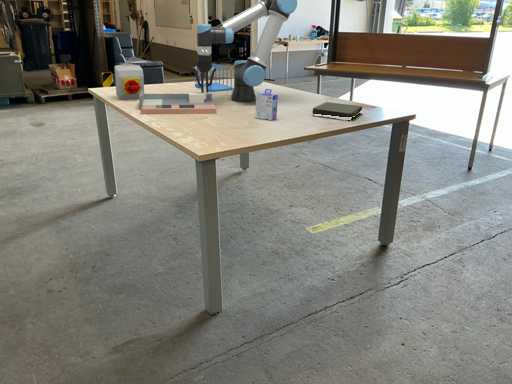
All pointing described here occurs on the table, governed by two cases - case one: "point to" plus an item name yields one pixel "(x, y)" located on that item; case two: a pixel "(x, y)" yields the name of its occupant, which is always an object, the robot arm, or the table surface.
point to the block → (196, 97)
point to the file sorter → (218, 86)
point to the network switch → (337, 109)
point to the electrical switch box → (129, 81)
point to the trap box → (174, 104)
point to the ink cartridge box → (266, 105)
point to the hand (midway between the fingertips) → (204, 98)
